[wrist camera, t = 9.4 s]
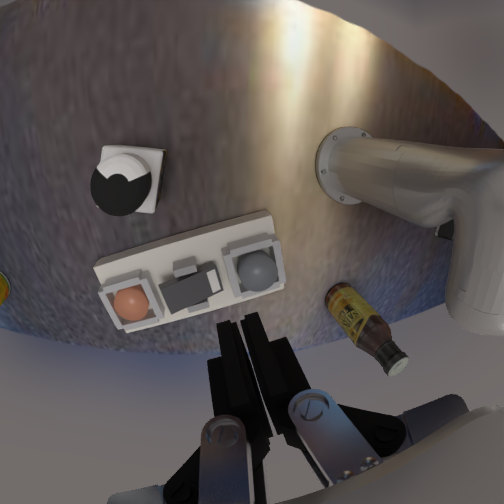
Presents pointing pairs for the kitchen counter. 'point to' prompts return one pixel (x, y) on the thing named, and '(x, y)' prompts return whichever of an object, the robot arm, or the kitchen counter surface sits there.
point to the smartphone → (446, 230)
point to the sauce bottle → (365, 328)
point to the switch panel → (189, 267)
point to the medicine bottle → (128, 179)
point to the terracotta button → (131, 303)
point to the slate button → (257, 271)
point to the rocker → (191, 287)
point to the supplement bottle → (4, 288)
